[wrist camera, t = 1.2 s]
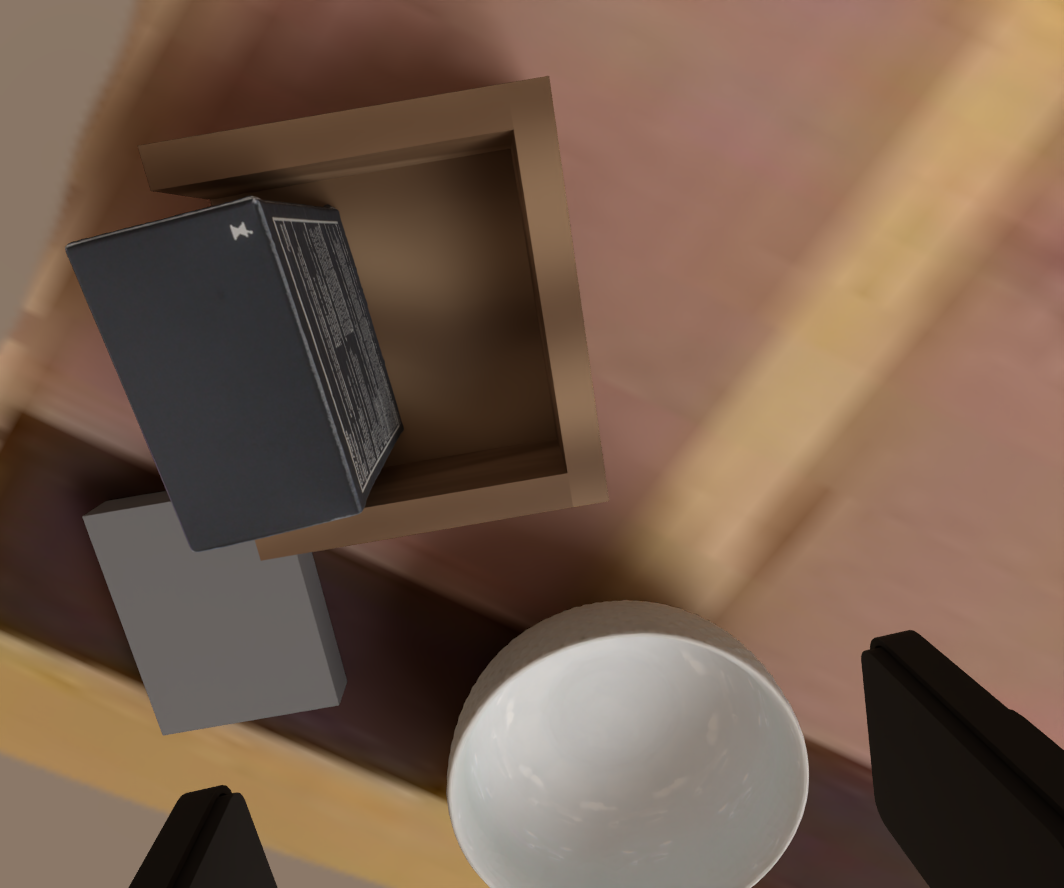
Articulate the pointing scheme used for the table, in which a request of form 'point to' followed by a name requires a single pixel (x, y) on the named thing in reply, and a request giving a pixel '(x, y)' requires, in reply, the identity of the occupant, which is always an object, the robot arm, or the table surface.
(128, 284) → the small box
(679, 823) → the cereal bowl
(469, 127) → the box
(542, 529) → the table surface
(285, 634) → the slate stand
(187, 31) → the table surface
